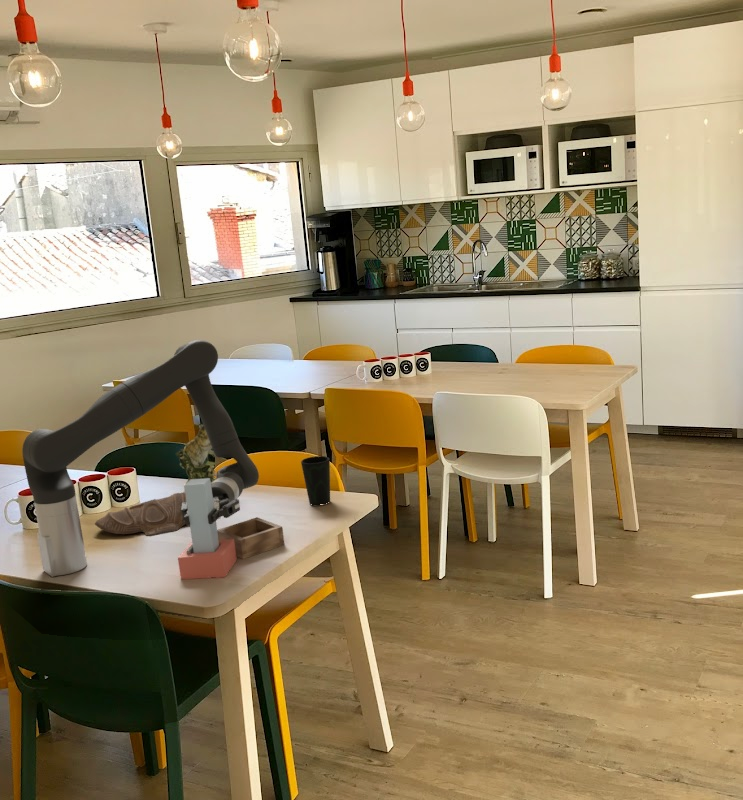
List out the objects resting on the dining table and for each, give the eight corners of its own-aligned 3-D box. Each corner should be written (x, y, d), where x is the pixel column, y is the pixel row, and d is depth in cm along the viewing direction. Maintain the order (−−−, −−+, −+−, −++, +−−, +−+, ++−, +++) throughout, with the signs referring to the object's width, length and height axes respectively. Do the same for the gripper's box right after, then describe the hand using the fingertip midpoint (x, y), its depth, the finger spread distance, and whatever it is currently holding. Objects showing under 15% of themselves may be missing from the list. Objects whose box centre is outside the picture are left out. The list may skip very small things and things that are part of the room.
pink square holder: (225, 577, 199) (221, 552, 198) (180, 579, 200) (177, 554, 199) (236, 559, 209) (233, 535, 208) (194, 562, 210) (191, 538, 209)
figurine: (231, 489, 267) (222, 423, 263) (187, 500, 260) (177, 432, 256) (217, 481, 277) (209, 417, 273) (174, 491, 270) (165, 426, 266)
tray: (242, 559, 209) (240, 540, 208) (218, 548, 218) (216, 530, 217) (284, 544, 216) (282, 526, 215) (259, 534, 225) (257, 517, 224)
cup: (302, 501, 248) (298, 459, 246) (329, 496, 250) (325, 454, 248) (309, 509, 241) (304, 465, 239) (337, 504, 243) (332, 460, 241)
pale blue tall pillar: (216, 570, 202) (204, 484, 198) (196, 571, 203) (184, 485, 199) (221, 562, 206) (210, 478, 203) (202, 563, 207) (190, 479, 203)
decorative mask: (87, 506, 247) (195, 476, 258) (93, 529, 248) (200, 497, 259) (98, 529, 226) (215, 495, 237) (104, 554, 227) (220, 519, 238)
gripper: (188, 483, 216) (164, 505, 200) (247, 479, 214) (228, 502, 198) (192, 513, 218) (169, 538, 201) (251, 509, 216) (232, 535, 199)
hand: (198, 520), depth 200 cm, fingers closed on pale blue tall pillar, 4 cm apart
